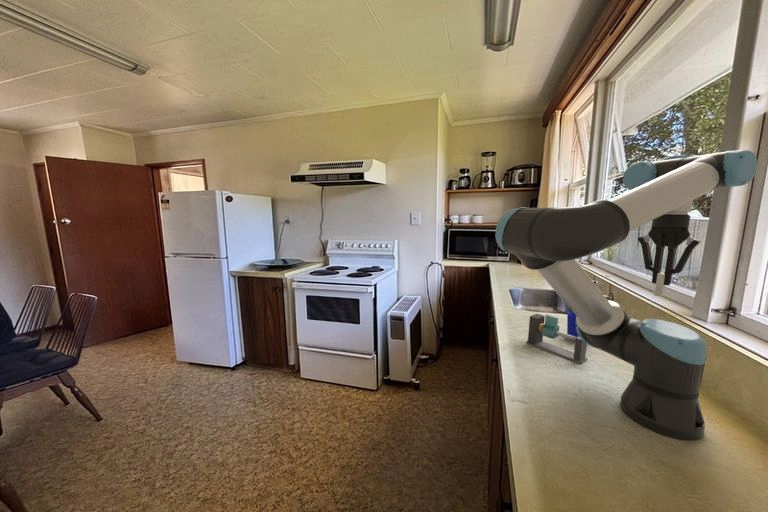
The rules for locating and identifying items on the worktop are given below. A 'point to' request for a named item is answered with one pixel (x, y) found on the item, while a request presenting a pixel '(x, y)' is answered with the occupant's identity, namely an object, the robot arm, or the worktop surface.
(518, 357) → the worktop surface
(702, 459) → the worktop surface
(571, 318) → the mug
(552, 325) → the sleeve
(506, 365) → the worktop surface
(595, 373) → the worktop surface
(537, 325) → the grey slider rail stand
